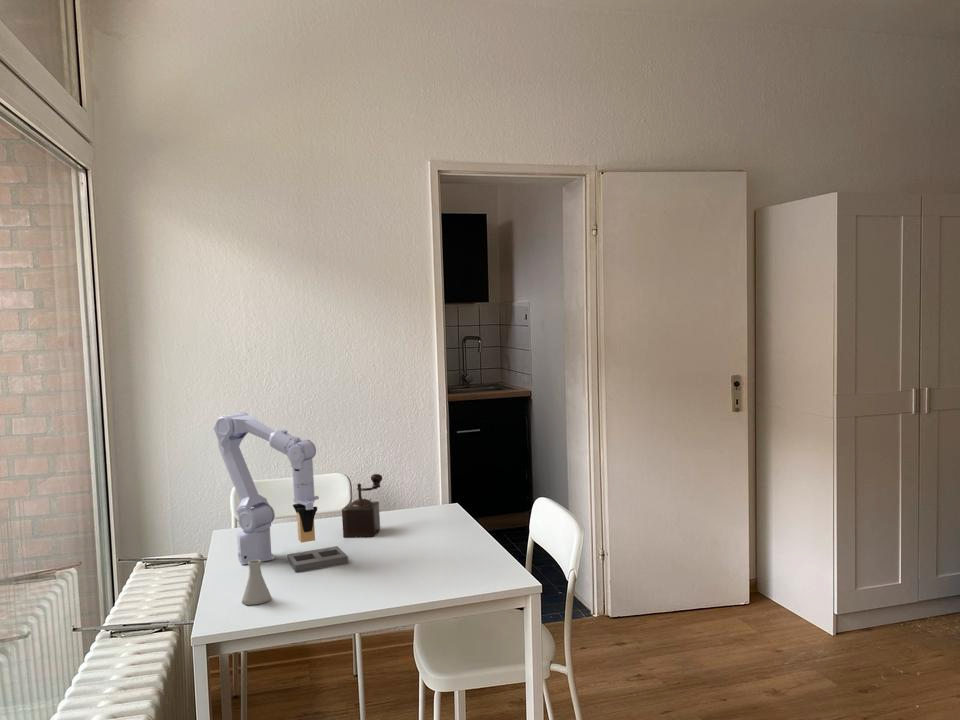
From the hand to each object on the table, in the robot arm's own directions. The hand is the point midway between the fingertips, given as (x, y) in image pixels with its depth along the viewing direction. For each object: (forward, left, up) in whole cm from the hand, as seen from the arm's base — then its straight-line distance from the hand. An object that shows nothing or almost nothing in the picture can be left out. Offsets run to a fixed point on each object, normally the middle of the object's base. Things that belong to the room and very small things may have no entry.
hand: (306, 529), depth 217 cm
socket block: (+3, 0, -10) cm, 10 cm away
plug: (0, 0, -3) cm, 3 cm away
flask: (-18, -23, -10) cm, 31 cm away
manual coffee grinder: (+24, +25, -10) cm, 36 cm away
